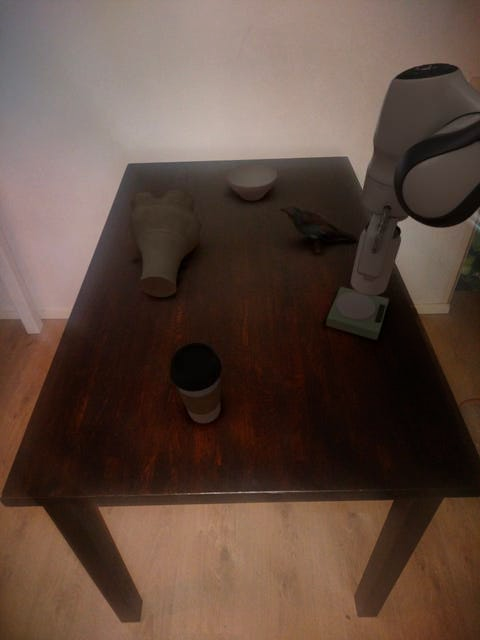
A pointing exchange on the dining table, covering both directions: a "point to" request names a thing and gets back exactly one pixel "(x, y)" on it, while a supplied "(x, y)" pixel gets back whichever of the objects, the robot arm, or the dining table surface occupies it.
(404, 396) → the dining table surface
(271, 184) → the bowl
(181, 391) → the coffee cup
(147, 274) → the vase
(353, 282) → the can
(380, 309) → the scale
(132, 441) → the dining table surface
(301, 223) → the bird figurine
